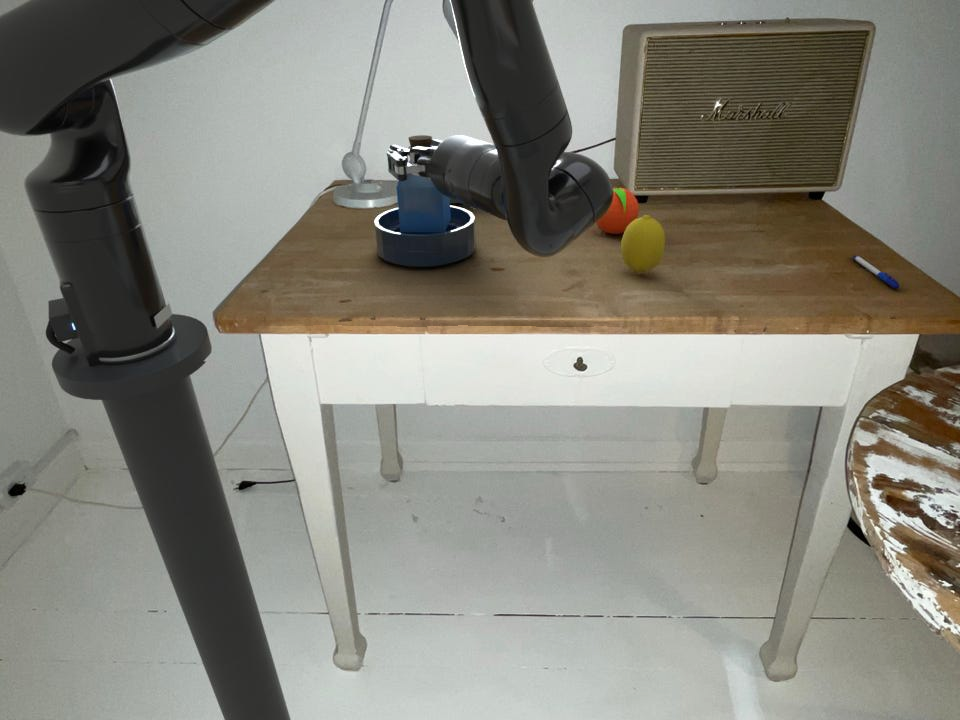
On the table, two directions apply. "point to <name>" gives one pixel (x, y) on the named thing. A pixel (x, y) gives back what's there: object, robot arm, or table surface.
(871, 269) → the blue and white marker
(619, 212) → the clementine
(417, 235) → the bowl
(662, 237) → the lemon
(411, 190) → the perfume bottle
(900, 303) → the table surface
